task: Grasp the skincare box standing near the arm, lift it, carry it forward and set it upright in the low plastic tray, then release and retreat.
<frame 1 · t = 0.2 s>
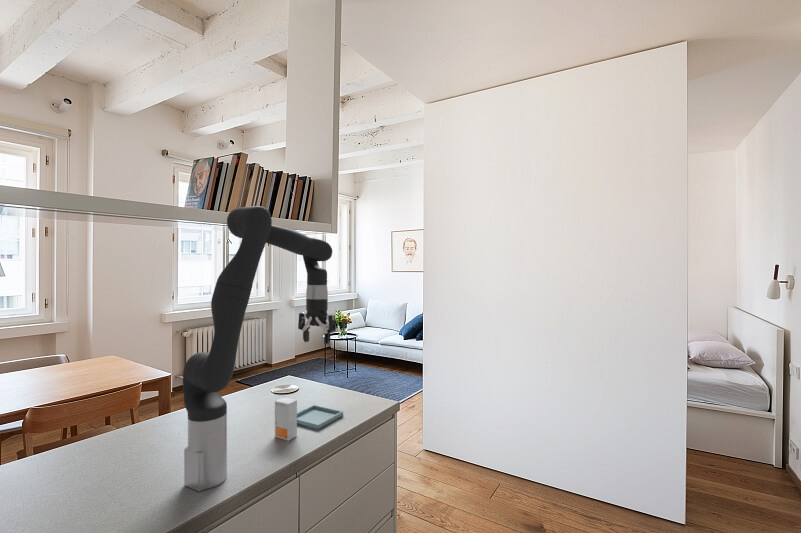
hand: (316, 342, 142), 28 cm above the worktop, fingers open, 8 cm apart
tray: (316, 419, 145), on the worktop
skincare box: (285, 437, 130), on the worktop
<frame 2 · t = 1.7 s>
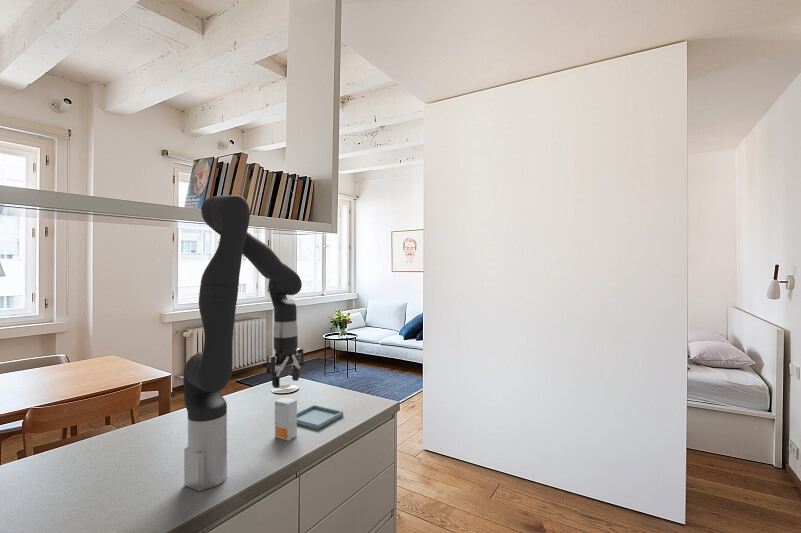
hand: (286, 383, 130), 17 cm above the worktop, fingers open, 8 cm apart
nothing on the worktop moved.
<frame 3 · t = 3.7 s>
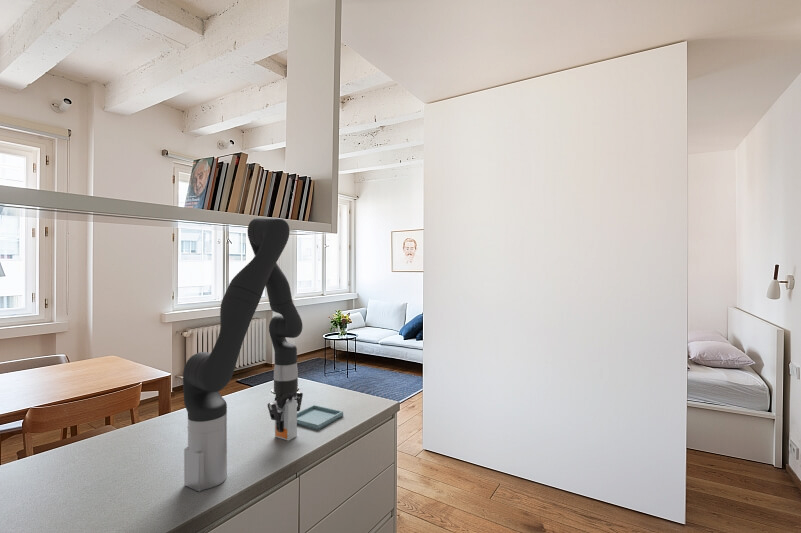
hand: (286, 428, 130), 3 cm above the worktop, fingers closed on skincare box, 4 cm apart
skincare box: (285, 437, 130), on the worktop, touching gripper
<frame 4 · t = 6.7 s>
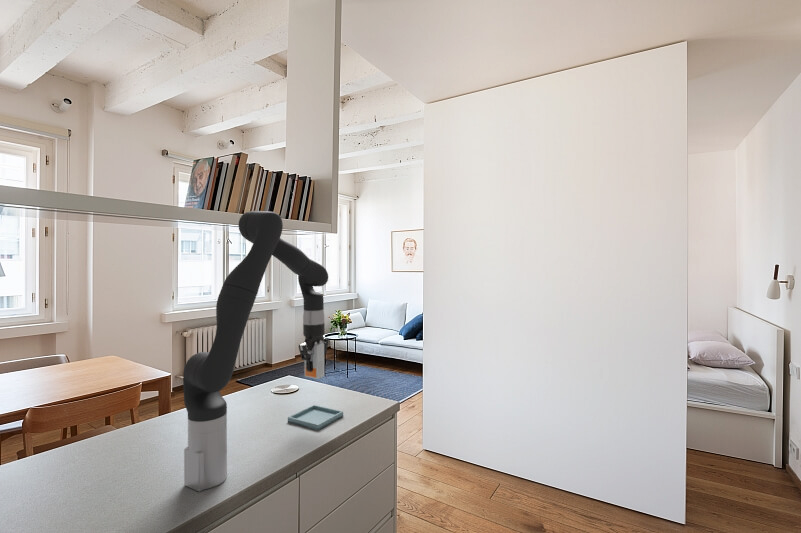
hand: (314, 369, 143), 19 cm above the worktop, fingers closed on skincare box, 4 cm apart
skincare box: (314, 377, 143), point 16 cm above the worktop, touching gripper
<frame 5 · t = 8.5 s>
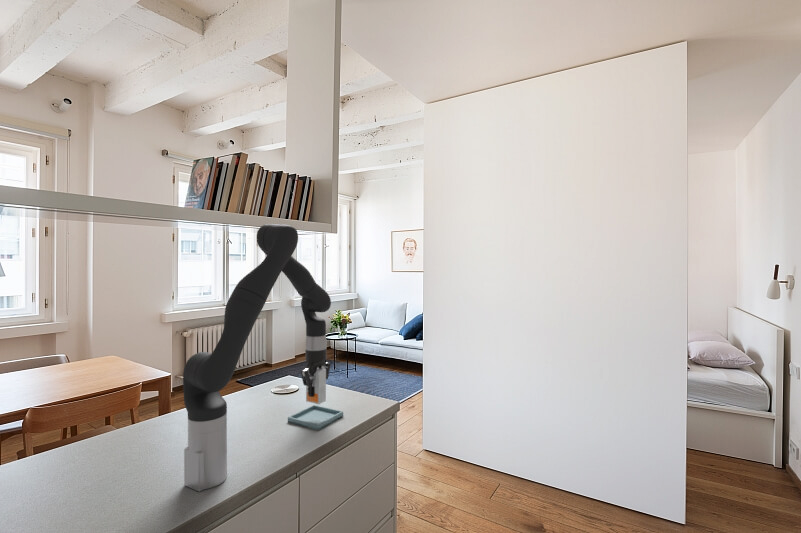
hand: (316, 394, 145), 9 cm above the worktop, fingers closed on skincare box, 4 cm apart
skincare box: (316, 402, 145), point 6 cm above the worktop, touching gripper
when the fingers open (5 cm above the worktop, at t = 9.8 s): skincare box drops 1 cm, resting on tray.
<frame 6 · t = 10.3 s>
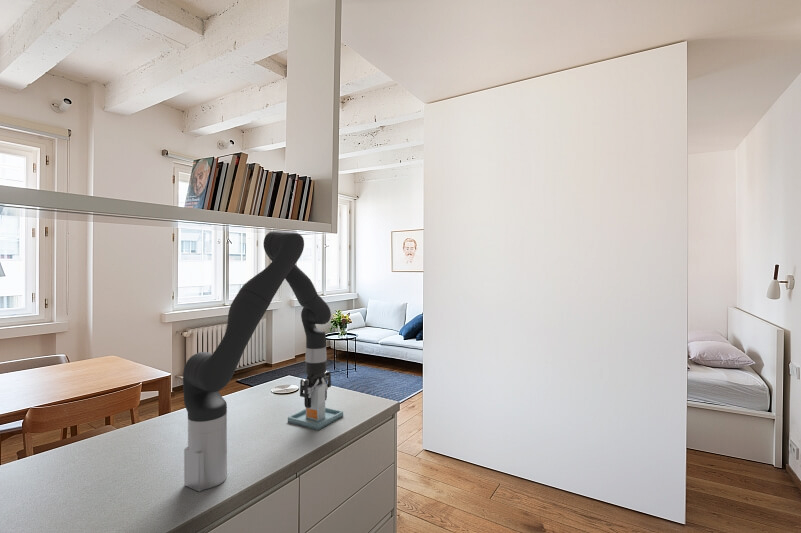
hand: (316, 403, 145), 6 cm above the worktop, fingers open, 8 cm apart
skincare box: (315, 418, 145), resting on tray
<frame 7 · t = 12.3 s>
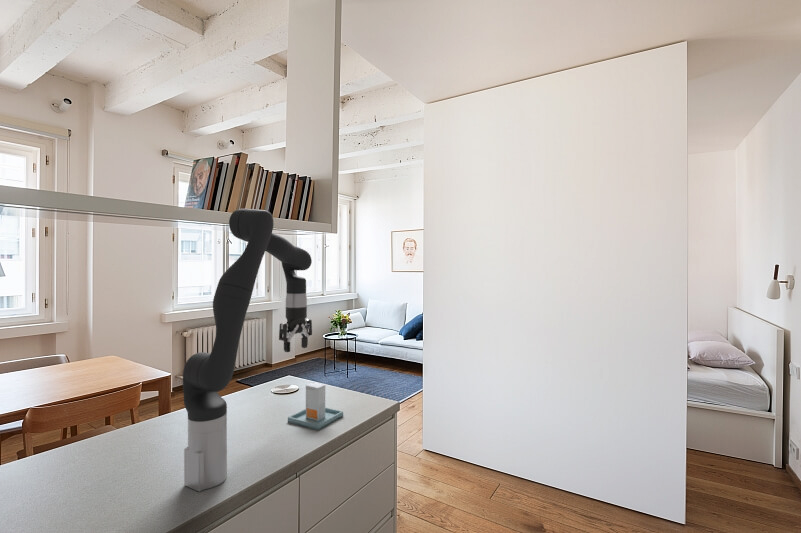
hand: (296, 349, 146), 25 cm above the worktop, fingers open, 8 cm apart
nothing on the worktop moved.
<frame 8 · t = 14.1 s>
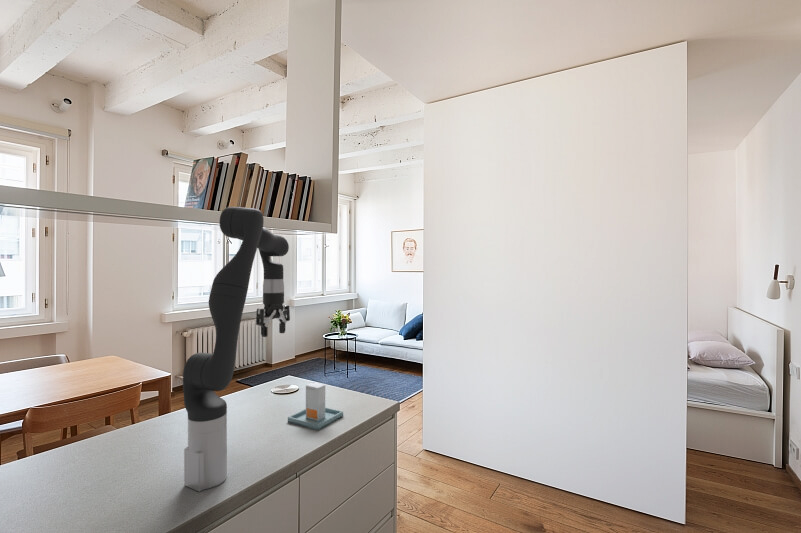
hand: (273, 334, 148), 30 cm above the worktop, fingers open, 8 cm apart
nothing on the worktop moved.
at the end: skincare box inside the target area on the tray (0.3 cm from its centre), point 0.4 cm above the tray's base; skincare box tilted 0°; the gripper is holding nothing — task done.
